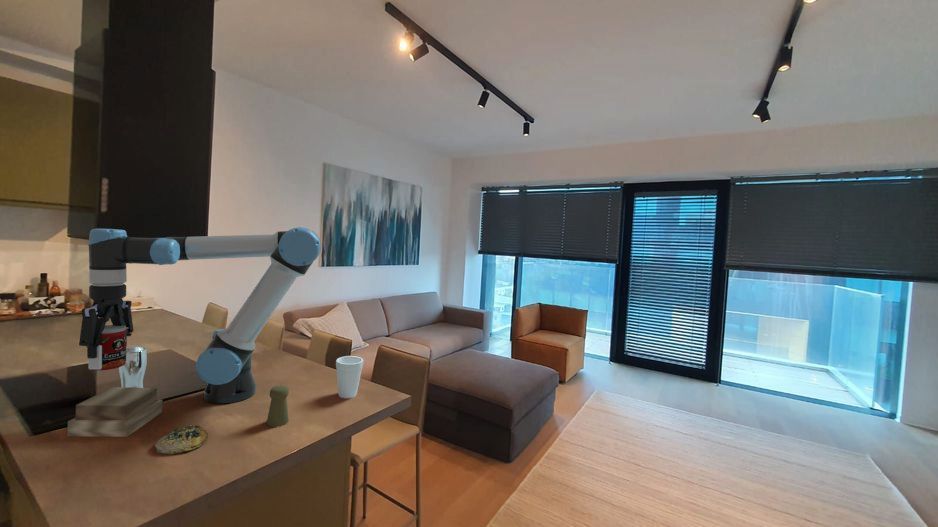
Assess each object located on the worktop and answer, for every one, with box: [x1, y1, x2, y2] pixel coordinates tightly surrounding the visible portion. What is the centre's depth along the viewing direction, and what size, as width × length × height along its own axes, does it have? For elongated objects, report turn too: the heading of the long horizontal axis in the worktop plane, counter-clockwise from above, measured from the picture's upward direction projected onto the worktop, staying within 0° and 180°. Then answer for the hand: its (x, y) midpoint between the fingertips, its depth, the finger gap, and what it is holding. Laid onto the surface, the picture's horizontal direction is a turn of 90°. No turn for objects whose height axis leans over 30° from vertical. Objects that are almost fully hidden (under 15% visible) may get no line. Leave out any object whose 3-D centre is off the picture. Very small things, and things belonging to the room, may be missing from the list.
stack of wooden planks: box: [67, 386, 164, 438], centre depth 106 cm, size 14×14×8 cm
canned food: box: [91, 324, 127, 371], centre depth 106 cm, size 8×8×11 cm
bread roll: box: [154, 424, 209, 455], centre depth 99 cm, size 11×11×5 cm
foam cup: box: [335, 355, 364, 399], centre depth 137 cm, size 10×9×13 cm
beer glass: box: [118, 346, 148, 388], centre depth 124 cm, size 7×7×15 cm
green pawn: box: [266, 384, 290, 428], centre depth 114 cm, size 6×6×11 cm
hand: (108, 363), depth 106 cm, fingers closed on canned food, 8 cm apart
